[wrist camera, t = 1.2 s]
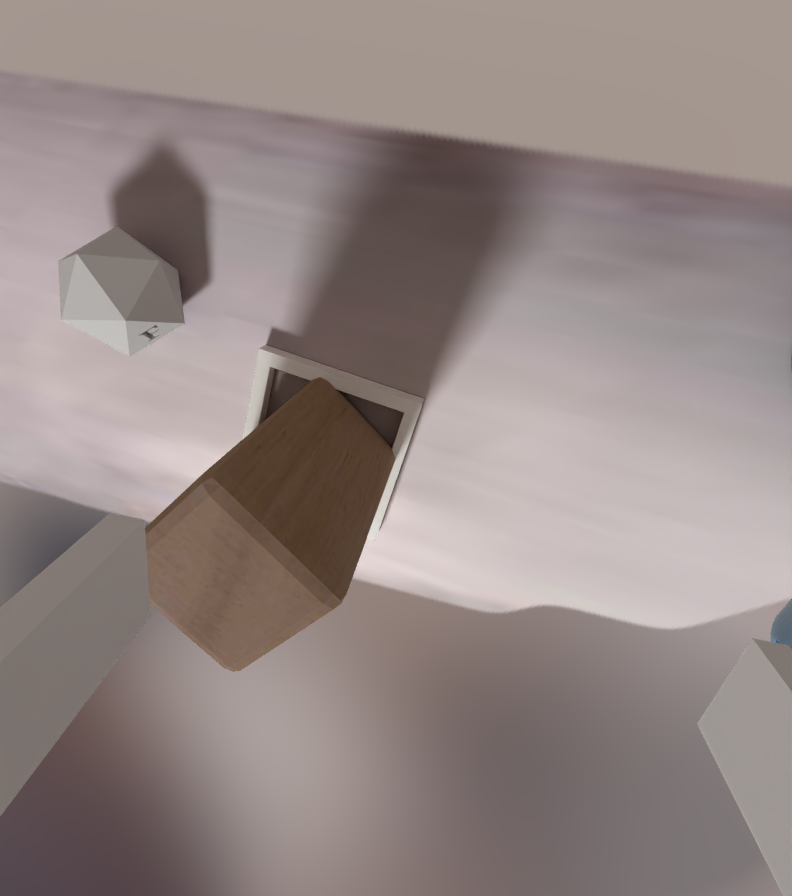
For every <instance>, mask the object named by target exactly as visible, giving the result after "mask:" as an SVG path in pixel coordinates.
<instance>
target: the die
mask: <svg viewBox="0 0 792 896" xmlns="http://www.w3.org/2000/svg"><path fill="white" fill-rule="evenodd" d="M59 282H60V303H61V320H63V321H65V322H66V323H68V324H70V325H72V326H74V327H76V328H77V329H79V330H81V331H83V332H85V333H87V334H89V335H90V336H92V337H94V338H96V339H98V340H100V341H101V342H103V343H105V344H107V345H109V346H111V347H112V348H114V349H116V350H118V351H120V352H122V353H124V354H125V355H127V356H129V357H130V356H132V355H133V354H135V353H137V352H138V351H140V350H142V349H143V348H145V347H147V346H148V345H150V344H152V343H153V342H155V341H157V340H158V339H160V338H161V337H163V336H165V335H166V334H168V333H170V332H171V331H173V330H175V329H176V328H178V327H180V326H181V325H183V324H185V322H184V314H183V306H182V298H181V290H180V282H179V274H178V270H177V269H176V268H174V267H173V266H172V265H170V264H169V263H167V262H166V261H165V260H163V259H162V258H161V257H159V256H158V255H156V254H155V253H154V252H152V251H151V250H150V249H148V248H147V247H145V246H144V245H143V244H141V243H140V242H138V241H137V240H136V239H134V238H133V237H132V236H130V235H129V234H127V233H126V232H125V231H123V230H122V229H121V228H119V227H118V226H117V227H115V228H113V229H112V230H110V231H108V232H107V233H105V234H103V235H101V236H100V237H98V238H96V239H95V240H93V241H91V242H90V243H88V244H86V245H85V246H83V247H81V248H80V249H78V250H76V251H75V252H73V253H71V254H70V255H68V256H66V257H65V258H63V259H61V260H59Z"/></svg>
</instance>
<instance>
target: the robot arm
mask: <svg viewBox="0 0 792 896" xmlns="http://www.w3.org/2000/svg"><path fill="white" fill-rule="evenodd" d="M150 616H151V613H150V597H149V581H148V564H147V548H146V532H145V520H142V519H137V518H132V517H127V516H122V515H117V514H112V513H110V514H108V515H107V516H106V517H105V518H104V519H103V520H101V521H100V522H99V523H98V524H97V525H96V526H95V527H93V528H92V529H91V530H90V531H89V532H88V533H86V534H85V535H84V536H83V537H82V538H81V539H80V540H78V541H77V542H76V543H75V544H74V545H72V546H71V547H70V548H69V549H68V550H67V551H66V552H64V553H63V554H62V555H61V556H60V557H59V558H57V559H56V560H55V561H54V562H53V563H52V564H51V565H49V566H48V567H47V568H46V569H45V570H44V571H42V572H41V573H40V574H39V575H38V576H37V577H35V578H34V579H33V580H32V581H31V582H30V583H28V584H27V585H26V586H25V587H24V588H23V589H22V590H20V591H19V592H18V593H17V594H16V595H15V596H13V597H12V598H11V599H10V600H9V601H8V602H7V603H5V604H4V605H3V606H2V607H1V608H0V816H1V814H2V813H3V812H4V810H5V809H6V807H7V806H8V805H9V804H10V802H11V801H12V800H13V799H14V797H15V796H16V795H17V793H18V792H19V791H20V789H21V788H22V787H23V785H24V784H25V783H26V781H27V780H28V779H29V777H30V776H31V775H32V773H33V772H34V771H35V769H36V768H37V767H38V765H39V764H40V763H41V761H42V760H43V758H44V757H45V756H46V755H47V753H48V752H49V751H50V749H51V748H52V747H53V745H54V744H55V743H56V741H57V740H58V738H59V737H60V736H61V735H62V733H63V732H64V731H65V729H66V728H67V726H68V725H69V724H70V723H71V721H72V720H73V719H74V717H75V716H76V715H77V713H78V712H79V711H80V709H81V708H82V707H83V705H84V704H85V703H86V701H87V700H88V699H89V697H90V696H91V695H92V693H93V692H94V691H95V689H96V688H97V687H98V685H99V684H100V683H101V681H102V680H103V679H104V677H105V676H106V675H107V673H108V672H109V671H110V669H111V668H112V667H113V665H114V664H115V663H116V662H117V660H118V659H119V658H120V656H121V655H122V653H123V652H124V651H125V649H126V648H127V647H128V646H129V644H130V643H131V642H132V640H133V639H134V638H135V636H136V635H137V634H138V632H139V631H140V630H141V628H142V627H143V626H144V624H145V623H146V621H147V620H148V619H149V618H150ZM697 725H698V727H699V729H700V731H701V733H702V735H703V737H704V739H705V741H706V743H707V745H708V747H709V749H710V751H711V753H712V755H713V757H714V759H715V761H716V763H717V765H718V767H719V769H720V771H721V773H722V775H723V777H724V779H725V781H726V783H727V785H728V787H729V789H730V791H731V793H732V795H733V797H734V799H735V801H736V803H737V805H738V807H739V809H740V811H741V813H742V815H743V817H744V819H745V821H746V823H747V825H748V827H749V829H750V831H751V833H752V835H753V837H754V839H755V841H756V843H757V845H758V847H759V849H760V851H761V853H762V855H763V857H764V859H765V861H766V862H767V865H768V866H769V868H770V871H771V873H772V875H773V877H774V879H775V881H776V883H777V884H778V886H779V889H780V891H781V893H782V895H783V896H792V599H791V600H790V601H789V603H788V604H787V605H786V606H785V607H784V608H783V609H782V610H781V611H780V612H779V614H778V615H777V616H776V618H775V620H774V622H773V625H772V629H771V642H768V641H763V640H757V639H752V640H751V642H750V643H749V645H748V646H747V648H746V649H745V651H744V652H743V654H742V655H741V657H740V658H739V660H738V662H737V663H736V665H735V666H734V668H733V669H732V671H731V673H730V674H729V675H728V677H727V679H726V680H725V682H724V683H723V685H722V686H721V688H720V689H719V691H718V692H717V694H716V696H715V697H714V699H713V700H712V702H711V704H710V705H709V706H708V708H707V710H706V711H705V713H704V714H703V716H702V717H701V719H700V720H699V722H698V723H697Z"/></svg>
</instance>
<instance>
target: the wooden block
mask: <svg viewBox="0 0 792 896" xmlns="http://www.w3.org/2000/svg"><path fill="white" fill-rule="evenodd" d="M395 460H396V459H395V456H394V453H393V451H392V448H391V447H390V446H389V445H388V444H387V443H386V441H385V440H384V439H383V438H382V437H381V436H380V435H379V434H378V433H377V432H376V431H375V429H374V428H373V427H372V426H371V425H370V424H369V423H368V422H367V421H366V420H365V419H364V417H363V416H362V415H361V414H360V413H359V412H358V411H357V410H356V409H355V408H354V407H353V406H352V404H351V403H350V402H349V401H348V400H347V399H346V398H345V397H344V396H343V395H342V394H341V392H340V391H339V390H336V389H335V388H334V387H333V386H332V385H331V384H330V383H329V381H327V380H325V379H323V378H321V377H319V378H316V379H313V380H311V381H310V382H309V383H308V384H307V385H305V386H304V387H303V388H302V389H301V390H300V391H298V392H297V393H296V394H295V395H294V396H293V397H291V398H290V399H289V400H288V401H287V402H286V403H285V404H283V405H282V406H281V407H280V408H279V409H278V410H276V411H275V412H274V413H273V414H272V415H271V416H269V417H268V418H267V419H266V420H265V421H264V422H263V423H261V424H260V425H259V426H258V427H257V428H256V429H254V430H253V431H252V432H251V433H250V434H249V435H247V436H246V437H245V438H244V439H243V440H242V441H240V442H239V443H238V444H237V445H236V446H235V447H234V448H232V449H231V450H230V451H229V452H228V453H227V454H225V455H224V456H223V457H222V458H221V459H220V460H218V461H217V462H216V463H215V464H214V465H213V466H212V467H210V468H209V469H208V470H207V471H206V472H205V473H204V474H202V475H201V476H200V477H199V478H198V479H197V480H196V481H195V482H194V483H193V484H192V485H191V486H190V487H189V488H187V489H186V490H185V491H184V492H183V493H182V494H181V495H180V496H179V497H178V498H177V499H176V500H175V501H174V502H173V503H171V504H170V505H169V506H168V507H167V508H166V509H165V510H164V511H163V512H162V513H161V514H160V515H159V516H158V517H156V518H155V519H154V520H153V521H152V522H151V523H150V524H149V525H148V526H147V527H146V528H145V532H146V548H147V564H148V581H149V597H150V604H151V605H152V606H153V607H154V608H156V610H158V611H159V612H160V613H161V614H162V615H163V616H165V617H166V618H167V619H168V620H169V621H170V622H172V623H173V624H174V625H175V626H176V627H177V628H178V629H180V630H181V631H182V632H183V633H184V634H185V635H187V636H188V637H189V638H190V639H191V640H192V641H193V642H195V643H196V644H197V645H198V646H199V647H200V648H202V649H203V650H204V651H205V652H206V653H207V654H208V655H210V656H211V657H212V658H213V659H214V660H216V661H217V662H218V663H219V664H220V665H221V666H222V667H224V668H226V669H229V670H231V671H240V670H241V669H243V668H245V667H246V666H248V665H249V664H251V663H252V662H254V661H255V660H257V659H258V658H260V657H261V656H263V655H265V654H266V653H267V652H269V651H270V650H272V649H273V648H275V647H277V646H278V645H280V644H281V643H283V642H284V641H286V640H287V639H289V638H290V637H292V636H293V635H295V634H296V633H298V632H300V631H301V630H303V629H304V628H306V627H307V626H308V625H310V624H312V623H313V622H315V621H316V620H318V619H319V618H321V617H322V616H324V615H325V614H327V613H328V612H330V611H331V610H333V609H334V608H336V607H337V606H338V605H339V604H341V602H342V601H343V599H344V597H345V595H346V593H347V591H348V588H349V585H350V582H351V580H352V577H353V574H354V571H355V569H356V566H357V563H358V561H359V558H360V555H361V552H362V550H363V547H364V544H365V541H366V539H367V536H368V533H369V531H370V528H371V525H372V522H373V520H374V517H375V514H376V511H377V509H378V506H379V503H380V500H381V498H382V495H383V492H384V490H385V487H386V484H387V481H388V479H389V476H390V473H391V470H392V468H393V465H394V462H395Z"/></svg>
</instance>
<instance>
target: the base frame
mask: <svg viewBox="0 0 792 896" xmlns="http://www.w3.org/2000/svg"><path fill="white" fill-rule="evenodd" d="M275 369H278V370H281V371H284V372H287V373H290V374H292V375H295V376H298V377H301V378H304V379H307V380H310V381H311V380H313V379H316V378H319V377H321V378H323V379H325V380H327V381H329V383H330V384H331V385H332V386H333V387H334V388H335V389H336V390H339V391H342V392H345V393H348V394H351V395H354V396H357V397H360V398H363V399H366V400H368V401H371V402H374V403H377V404H380V405H383V406H386V407H389V408H392V409H395V410H398V411H401V412H404V415H403V418H402V421H401V424H400V427H399V430H398V433H397V436H396V439H395V442H394V445H393V448H392V451H393V453H394V456H395V459H396V460H395V462H394V465H393V468H392V470H391V473H390V476H389V479H388V481H387V484H386V487H385V490H384V492H383V495H382V498H381V500H380V503H379V506H378V509H377V511H376V514H375V517H374V520H373V522H372V525H371V528H370V531H369V533H368V536H367V538H369V539H372V540H376V537H377V534H378V531H379V528H380V526H381V523H382V520H383V517H384V514H385V511H386V508H387V505H388V502H389V500H390V497H391V494H392V491H393V488H394V485H395V482H396V479H397V476H398V474H399V471H400V468H401V465H402V462H403V459H404V456H405V453H406V450H407V448H408V445H409V442H410V439H411V436H412V433H413V430H414V427H415V424H416V422H417V419H418V416H419V413H420V410H421V407H422V404H423V401H424V399H423V398H420V397H417V396H414V395H411V394H408V393H405V392H403V391H400V390H397V389H394V388H391V387H388V386H385V385H382V384H379V383H376V382H373V381H370V380H367V379H364V378H362V377H359V376H356V375H353V374H350V373H347V372H344V371H341V370H338V369H335V368H332V367H329V366H326V365H323V364H321V363H318V362H315V361H312V360H309V359H306V358H303V357H300V356H297V355H294V354H291V353H288V352H285V351H282V350H280V349H277V348H274V347H271V346H268V345H265V346H263V347H261V348H259V350H258V356H257V361H256V367H255V372H254V378H253V383H252V389H251V394H250V400H249V405H248V410H247V416H246V421H245V427H244V432H243V438H242V440H243V439H244V438H245V437H246V436H247V435H249V434H250V433H251V432H252V431H253V430H254V429H256V428H257V427H258V426H259V425H260V424H261V423H263V422H264V421H265V418H266V413H267V408H268V403H269V398H270V393H271V388H272V383H273V378H274V373H275Z"/></svg>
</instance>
